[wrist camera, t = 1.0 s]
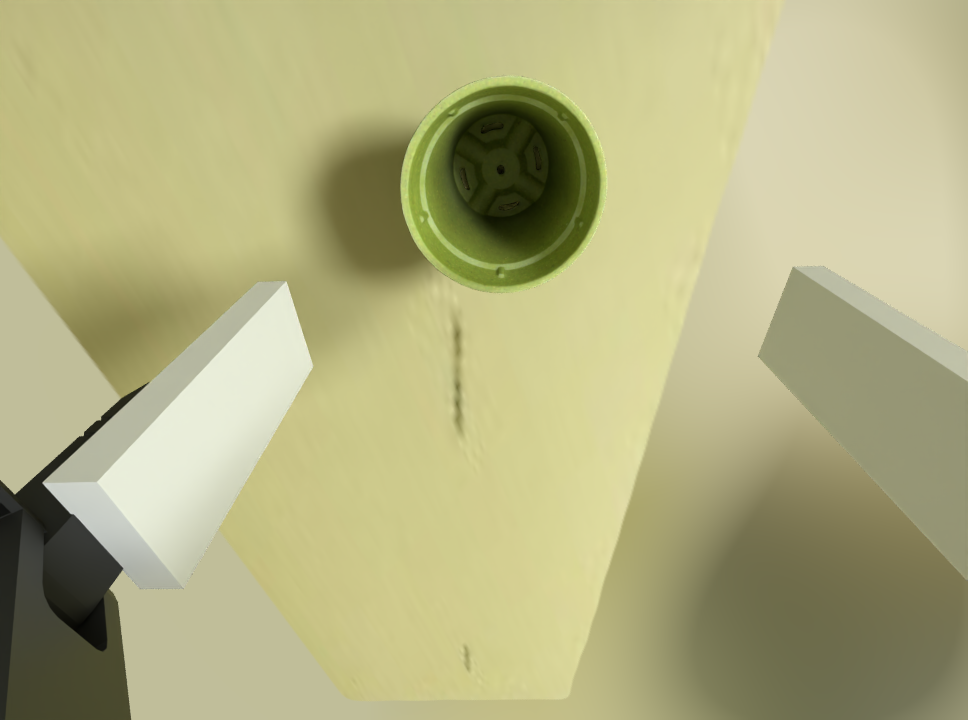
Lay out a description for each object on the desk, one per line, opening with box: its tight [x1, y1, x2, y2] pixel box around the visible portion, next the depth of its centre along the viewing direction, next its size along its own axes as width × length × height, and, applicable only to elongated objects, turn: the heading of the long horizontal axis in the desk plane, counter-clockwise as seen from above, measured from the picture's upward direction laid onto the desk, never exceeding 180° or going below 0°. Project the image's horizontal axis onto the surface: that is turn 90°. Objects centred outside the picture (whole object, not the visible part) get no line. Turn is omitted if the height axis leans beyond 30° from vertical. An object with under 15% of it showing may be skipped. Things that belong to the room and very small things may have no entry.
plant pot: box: [400, 76, 607, 293], centre depth 23 cm, size 9×9×9 cm
